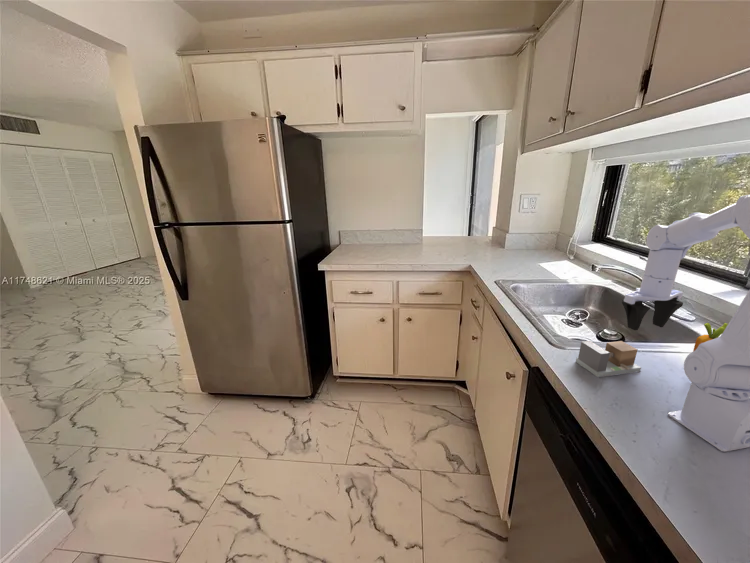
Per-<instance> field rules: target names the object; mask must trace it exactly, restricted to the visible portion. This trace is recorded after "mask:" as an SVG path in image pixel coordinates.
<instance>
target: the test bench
mask: <svg viewBox="0 0 750 563" xmlns="http://www.w3.org/2000/svg"><path fill="white" fill-rule="evenodd" d="M609 355H610V353H609V352H608V351H606V350H605V349H604V348H603V347H601V346H599V345H598V344H596V343H594V342H592V341H590V340H587V341H585V340H584V341H581V342H580V346H579V351H578V357H576V359H575V362H576V364H578V365H579V366H581V367H582V368H583V369H585V370H586V371H588V372H589V373H591V374H592V375H594V376H595V377H597V378H603V377H604V378H605V377H609V376H619V375H624V374H625V375H626V374H633V373H640V372H641V370H642V367H641V366H639V365H638V364H636V363H634V365H629V366H627V367H629V368H630V370H626V369H625V368H623V367H622V366H621V367H618V366H616V365H614V364H613V363H611V362H610V361H608V359H609Z"/></svg>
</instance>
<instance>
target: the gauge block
mask: <svg viewBox="0 0 750 563" xmlns="http://www.w3.org/2000/svg"><path fill="white" fill-rule="evenodd" d="M604 350H606V351H608V352H609V353H610V355H609V359H608V361H610V362H611V363H613V364H614V365H616V366H618V367H621V366H622V367H623V368H625V369H626V370H630V368H629V367H627V366H629V365H634V364H635V360H636V356H637V353H638V351H639V350H638V349H637V348H636V347H634V346H633V345H630V344H629V343H626V342H625V341H623V340H618V341H611V342H610V341H609V342H608V341H607V342H606V345H605V349H604Z"/></svg>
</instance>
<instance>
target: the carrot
mask: <svg viewBox="0 0 750 563" xmlns="http://www.w3.org/2000/svg"><path fill="white" fill-rule="evenodd" d="M728 324H729V323H728V322H727V323H726V322H724V323H723V324H722V325H721V326H719V327H718V328H717V329H716V328H712V324H710V322H707V323H704V324H703V326H704V328H705V330H706V332H707V334H702V335H699V336H697V337H696V339H695V343H694V346H693V350H692V352H694V351H695V350H696V349H697V348H698V346H699V344H701V343H704V342H706V341H709V340H712V339H715V338H718V337H720V336H721V335H722V333H723V332H724V330H725V329H726V327H727V325H728Z"/></svg>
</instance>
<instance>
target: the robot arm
mask: <svg viewBox="0 0 750 563" xmlns="http://www.w3.org/2000/svg"><path fill="white" fill-rule="evenodd" d="M737 227H738V228H740V230H741V231H742V232H743V233H744V235H746V238H748V239H749V240H750V193H749V194H746V195H741V196H740V197H739V198H738V199H737V200H736V202H735V203H733V204H730V205H728V206H725V207H723V208H722V209H721V208H720V209H719V210H717V211H715V212H713V213H711V214H708V213H702V212H691V213H689V214H688V217H686V218H683V219H681V220H674V221H673V222H672V223H671V224H668V225H661V224H655V225H654V226H653V227H651V228H649V231H648V233H647V235H646V241H645V242H646V246H647V248H648V249H649V251H648V256H647V259H646V264H645V268H644V272H643V275H642V280H641V283H640V287H636V288H635V291H633V292H631V293H626V294H625V295H624V298H622V299H621V300H622V301H621V304H622V306H623V308H624V310H625V314H626V322H627V328H629V329H631V330H633V331H638V330H639V329H640V326H641V324H642V322H643V319H644V317H645V316H646V314H647V313H648V312H649V310H650V309H651V307H649V306H647V305H644V302H653V304H654V305H653V307H654V309H653V318H652V325H653V326H656V327H659V328H664V326H665V325H666V323H667V322H668V320H669V319H670V318H671V317H672V315H673V314H675V312H677V311H678V310H679V309H680V308H682V307H683V305H684V302H683V301H680V300H682V298H683V294H684V292H683V291H682V290H677V289H673V288H674V285H675V281H676V277H677V273H678V271H679V267H680V263H681V260H683V259H684V258H685V257H686V256H687V255H686V254H687V252H688V250H690V249H691V248H692V246H693V245H697V244H700V243H705V242H707V241H710V240H713V239H714V238H716V237H717V236H718V234H719V233H720V231H726V230H728V229H732V228H737ZM727 324H728V325H727V327H726V329H725V330H724V332H723V333H722V334H721V335H720V336H719V337H718V338H715V339H712V340H709V341H706V342H704V343H701V344H699V346H698V348H697V349H696V350H695V351H694V352H693V351H691V352H690V353H689V354H688V355H687V356H686V357H685V359H684V362H683V370H684V373H685V375H686V377H687V378H688V380H689V381H690V382H691V384H690V386H689V388H688V392H687V395H686V397H685V400H684V404H683V406H682V409H681V410H676V411H669V412H667V416H669V417H670V418H671V419H673V420H675V421H676V422H677V423H679V424H680V425H681V426H683V427H685V428H687V429H688V430H689V431H691V432H692V433H694V434H695V435H697V436H698V437H700V438H701V439H702V440H704V441H706V442H707V443H709V444H710V445H712V446H714V447H715V448H716V449H718V450H719V451H721V452H730V451H731V452H732V451H736V450H741V449H745V448H750V289H749V290H748V292H747V293H746V295H745V297H744V298H743V299H742V301H741V303H740V304H739V306H738V307H737V309H736V311H735V312H734V314H733V316H732V317H731V319H730V321H729V323H727Z"/></svg>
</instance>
